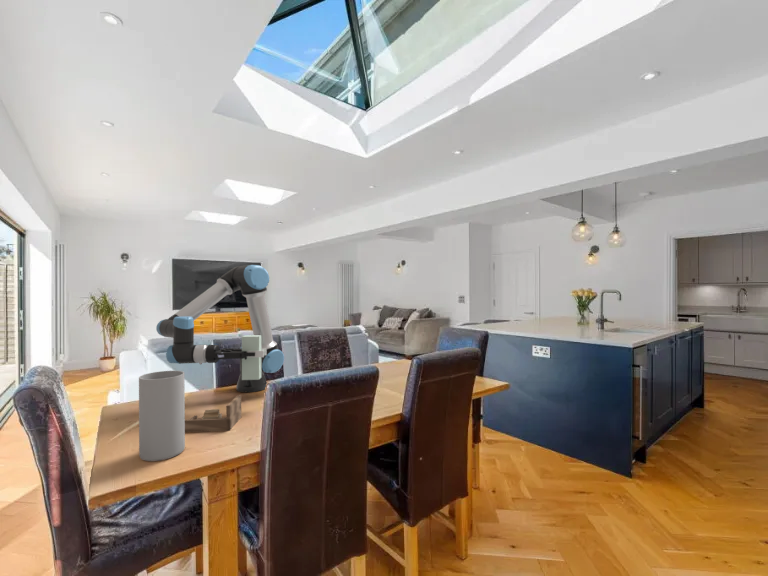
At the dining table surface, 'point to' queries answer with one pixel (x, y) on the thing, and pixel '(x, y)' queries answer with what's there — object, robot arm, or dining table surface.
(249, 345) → the pale green block
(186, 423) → the tray
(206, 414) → the pine offcut
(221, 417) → the ply offcut
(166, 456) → the cylinder vase
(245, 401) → the dining table surface
